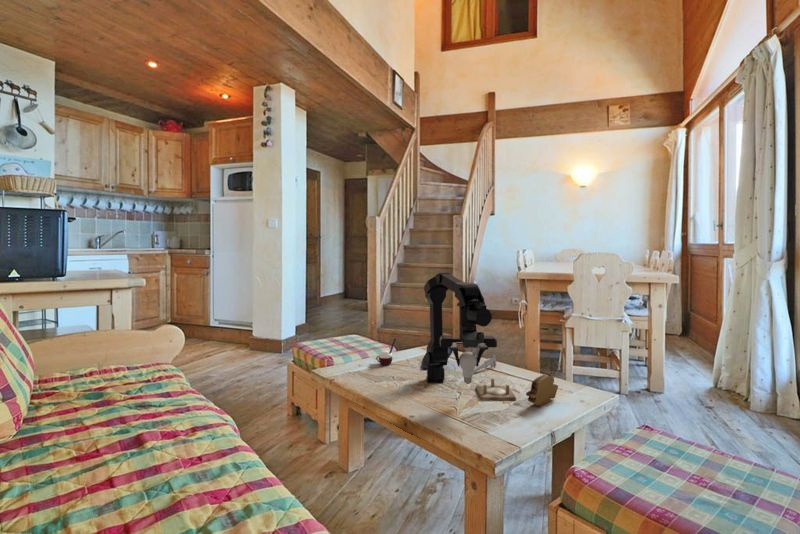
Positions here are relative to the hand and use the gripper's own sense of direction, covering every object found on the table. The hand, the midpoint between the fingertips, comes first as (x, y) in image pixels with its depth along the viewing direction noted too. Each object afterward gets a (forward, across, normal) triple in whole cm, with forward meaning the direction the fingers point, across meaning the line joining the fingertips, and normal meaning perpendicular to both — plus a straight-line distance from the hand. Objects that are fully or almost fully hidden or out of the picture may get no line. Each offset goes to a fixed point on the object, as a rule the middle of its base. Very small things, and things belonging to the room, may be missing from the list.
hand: (467, 366), depth 145 cm
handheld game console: (+14, -8, +45) cm, 47 cm away
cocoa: (+13, -31, +46) cm, 57 cm away
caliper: (+13, +10, +36) cm, 39 cm away
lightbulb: (+6, 0, 0) cm, 6 cm away
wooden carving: (+13, +25, 0) cm, 28 cm away
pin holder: (+13, +11, +9) cm, 19 cm away
